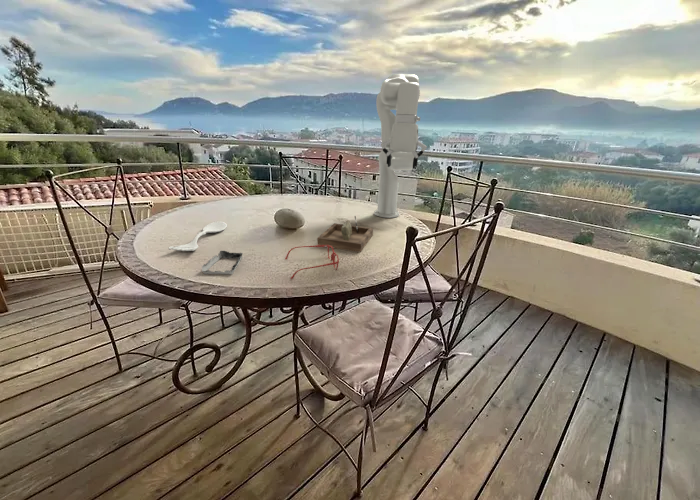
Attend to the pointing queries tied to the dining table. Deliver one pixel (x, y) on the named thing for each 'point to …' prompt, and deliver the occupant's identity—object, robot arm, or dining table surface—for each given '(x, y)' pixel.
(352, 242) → the wooden tray
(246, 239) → the dining table surface
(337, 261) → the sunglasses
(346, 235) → the cuneiform tablet
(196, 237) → the spoon
